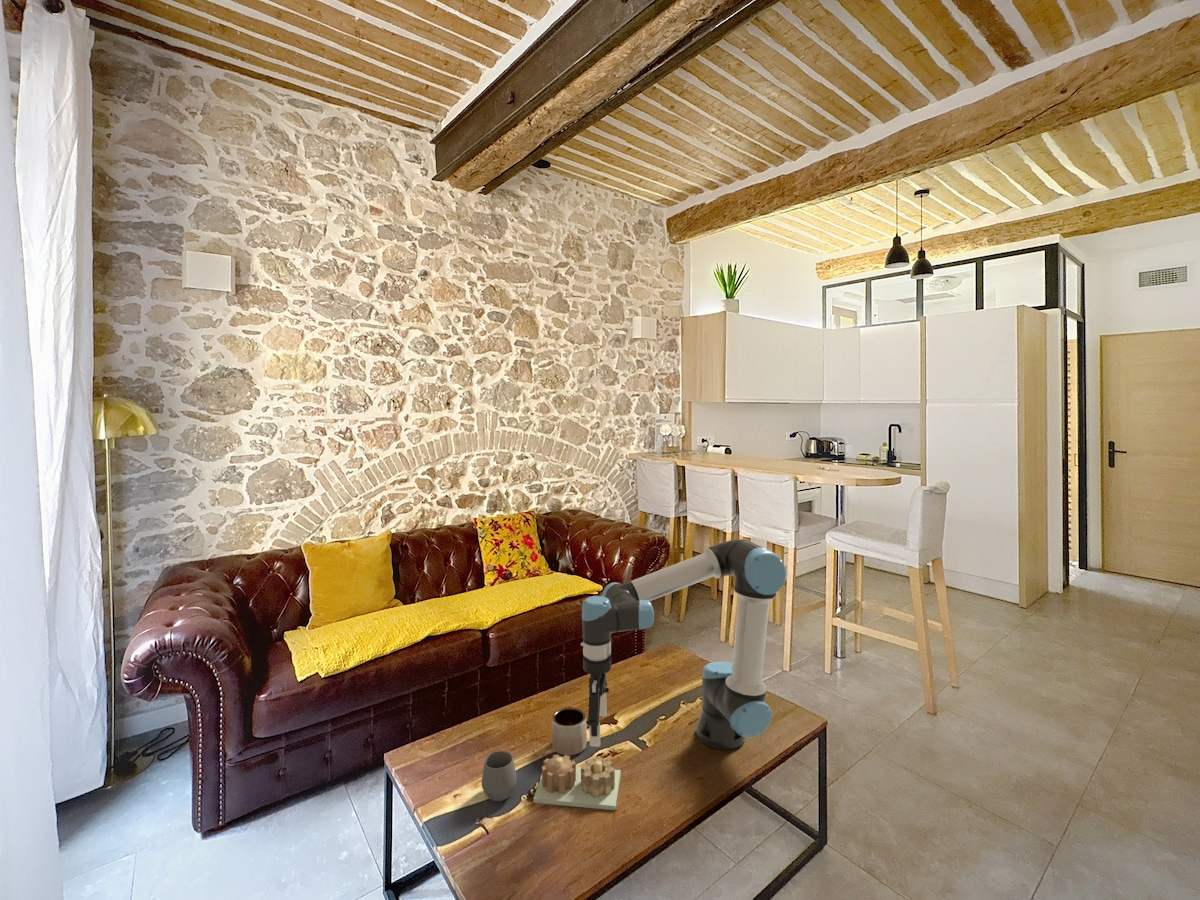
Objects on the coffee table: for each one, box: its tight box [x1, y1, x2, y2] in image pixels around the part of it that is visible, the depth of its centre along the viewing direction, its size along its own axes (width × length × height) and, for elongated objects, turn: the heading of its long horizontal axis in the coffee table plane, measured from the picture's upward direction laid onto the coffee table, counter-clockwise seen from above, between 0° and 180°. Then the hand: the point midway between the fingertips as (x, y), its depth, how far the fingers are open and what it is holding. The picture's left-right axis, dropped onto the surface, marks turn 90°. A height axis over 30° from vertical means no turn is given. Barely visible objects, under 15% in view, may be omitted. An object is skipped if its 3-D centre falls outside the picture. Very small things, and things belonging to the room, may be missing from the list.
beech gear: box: [580, 756, 616, 798], centre depth 149 cm, size 9×9×5 cm
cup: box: [481, 750, 517, 802], centre depth 148 cm, size 10×9×10 cm
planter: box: [551, 706, 588, 757], centre depth 169 cm, size 11×11×10 cm
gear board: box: [532, 753, 622, 811], centre depth 150 cm, size 22×14×8 cm, turn 82°
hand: (598, 730), depth 148 cm, fingers open, 13 cm apart
